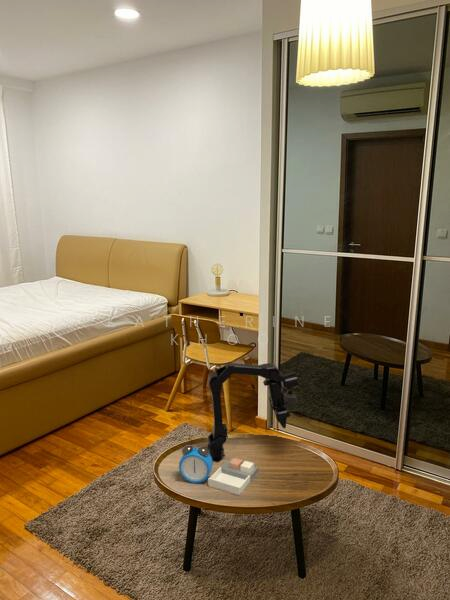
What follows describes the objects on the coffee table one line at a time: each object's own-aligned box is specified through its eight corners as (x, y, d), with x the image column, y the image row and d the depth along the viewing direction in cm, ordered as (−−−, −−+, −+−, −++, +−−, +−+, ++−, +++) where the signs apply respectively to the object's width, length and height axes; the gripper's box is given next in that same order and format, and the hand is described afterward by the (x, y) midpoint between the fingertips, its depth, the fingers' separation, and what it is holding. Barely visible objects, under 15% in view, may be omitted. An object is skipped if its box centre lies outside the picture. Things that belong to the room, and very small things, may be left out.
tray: (208, 486, 185) (208, 478, 185) (220, 473, 194) (220, 466, 193) (239, 495, 179) (239, 487, 178) (250, 482, 187) (250, 474, 187)
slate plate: (220, 473, 194) (220, 468, 193) (229, 464, 201) (229, 458, 200) (250, 482, 187) (250, 476, 187) (258, 472, 194) (258, 466, 194)
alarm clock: (179, 482, 188) (177, 449, 185) (183, 473, 194) (181, 441, 191) (210, 485, 186) (209, 451, 183) (213, 476, 192) (212, 443, 189)
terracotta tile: (229, 467, 193) (229, 462, 193) (233, 463, 197) (233, 457, 197) (238, 470, 192) (238, 465, 191) (242, 465, 195) (242, 460, 195)
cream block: (240, 471, 191) (240, 465, 190) (244, 466, 195) (244, 460, 194) (249, 473, 189) (249, 468, 189) (253, 468, 193) (253, 463, 192)
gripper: (298, 396, 194) (304, 428, 198) (288, 379, 212) (294, 409, 216) (273, 402, 194) (279, 434, 197) (265, 385, 212) (271, 415, 215)
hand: (282, 423), depth 206 cm, fingers open, 9 cm apart
